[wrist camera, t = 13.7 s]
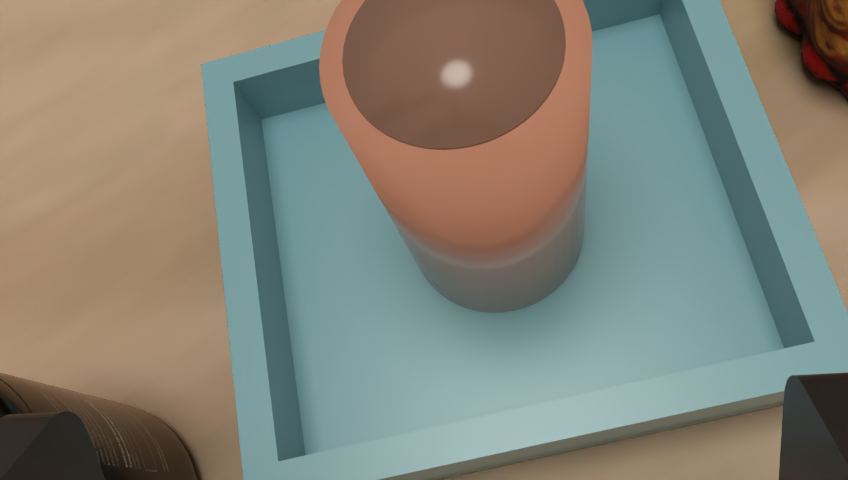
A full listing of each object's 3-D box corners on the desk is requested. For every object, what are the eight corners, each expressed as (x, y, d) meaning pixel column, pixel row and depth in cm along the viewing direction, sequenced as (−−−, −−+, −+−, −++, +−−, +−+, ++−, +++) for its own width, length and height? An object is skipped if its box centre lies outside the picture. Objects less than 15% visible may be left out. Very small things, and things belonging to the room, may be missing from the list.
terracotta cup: (426, 328, 24) (335, 200, 15) (399, 172, 26) (304, -29, 17) (603, 292, 24) (624, 135, 14) (562, 134, 26) (557, -95, 16)
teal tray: (290, 511, 24) (246, 508, 21) (242, 116, 29) (201, 63, 26) (828, 395, 22) (871, 371, 19) (676, 0, 28) (690, -71, 24)
